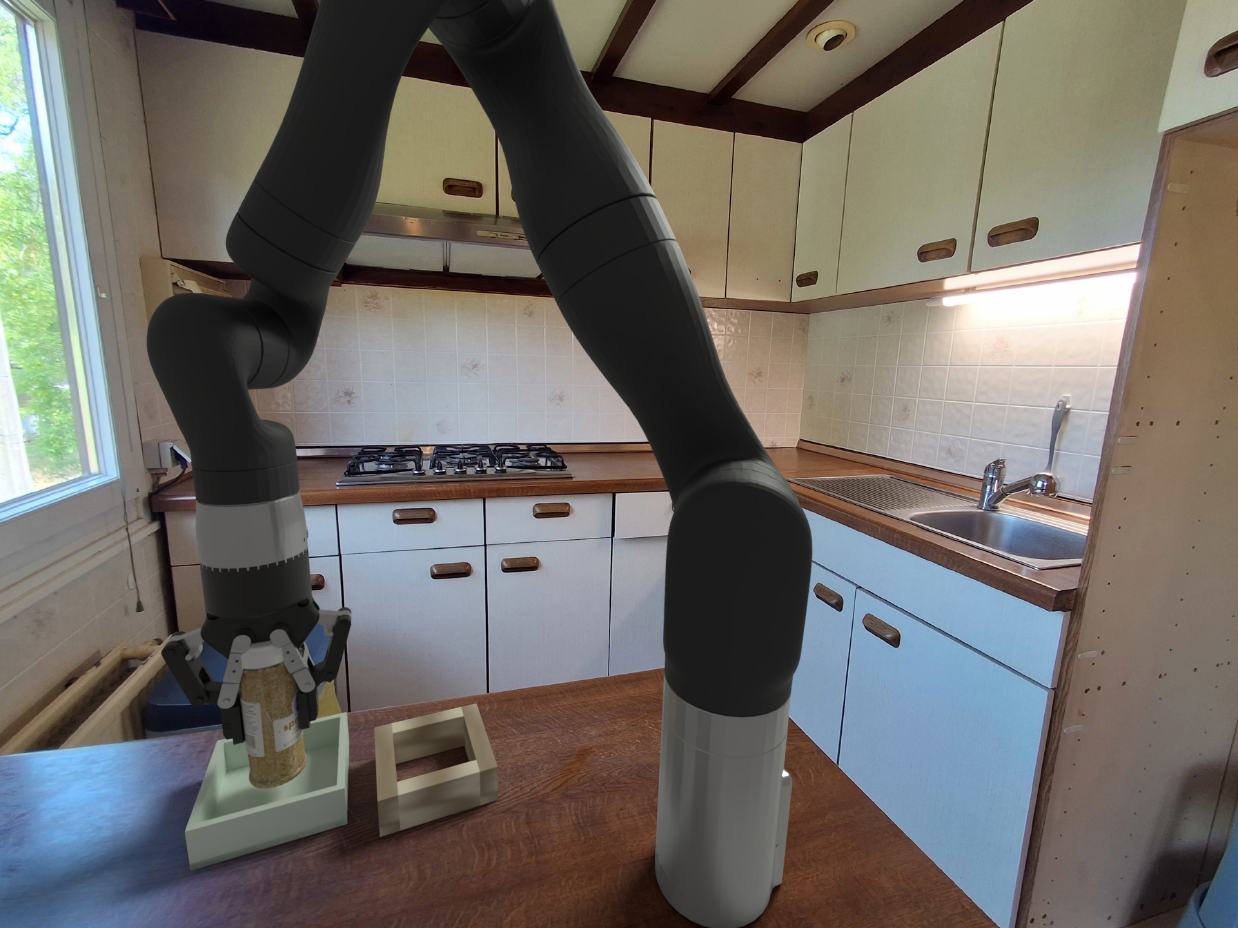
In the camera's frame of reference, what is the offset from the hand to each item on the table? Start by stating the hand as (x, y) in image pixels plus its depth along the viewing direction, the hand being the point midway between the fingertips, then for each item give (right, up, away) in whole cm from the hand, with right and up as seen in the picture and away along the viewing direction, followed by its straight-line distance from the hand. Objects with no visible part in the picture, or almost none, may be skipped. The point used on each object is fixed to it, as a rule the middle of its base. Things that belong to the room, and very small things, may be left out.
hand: (274, 729), depth 49 cm
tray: (0, -7, +1) cm, 7 cm away
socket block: (+13, -7, +4) cm, 15 cm away
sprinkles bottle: (0, -4, +1) cm, 4 cm away
